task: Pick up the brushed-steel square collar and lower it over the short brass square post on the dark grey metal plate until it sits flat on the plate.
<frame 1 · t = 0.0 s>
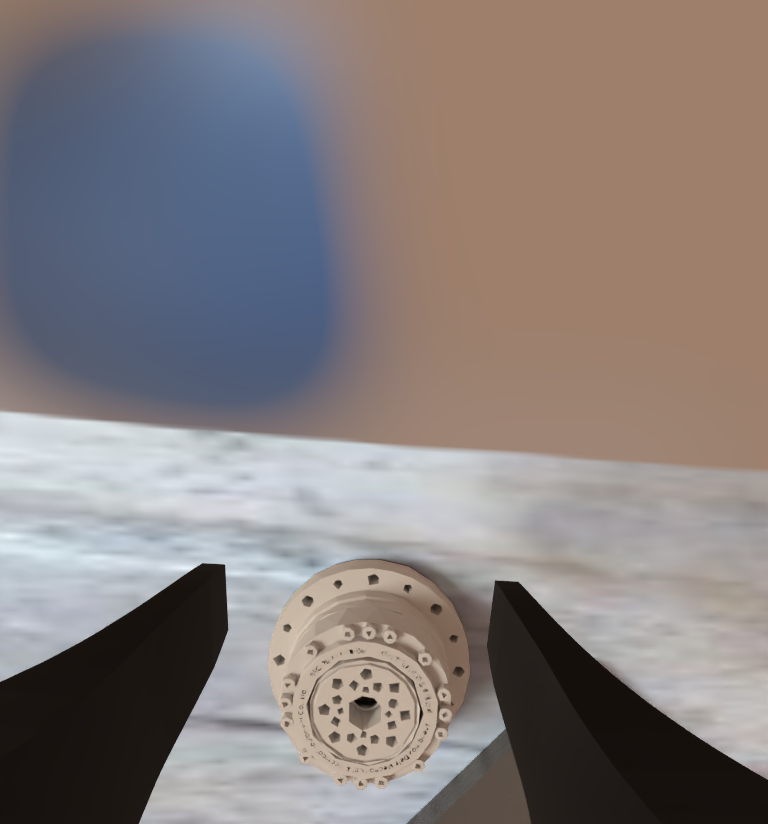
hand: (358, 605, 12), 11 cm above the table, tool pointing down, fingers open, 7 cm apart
mechanical component: (370, 646, 24), on the table
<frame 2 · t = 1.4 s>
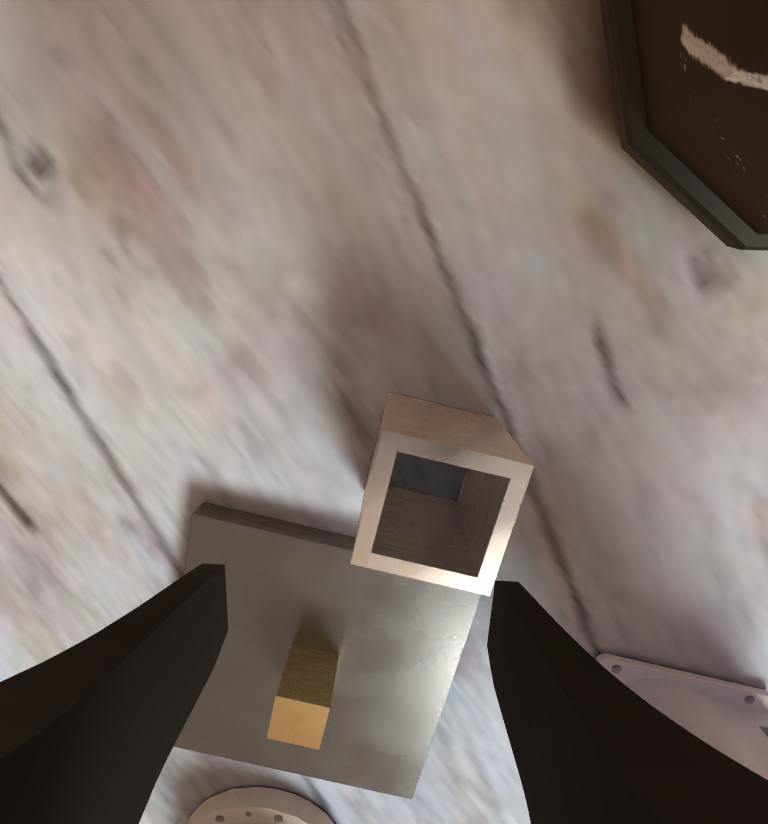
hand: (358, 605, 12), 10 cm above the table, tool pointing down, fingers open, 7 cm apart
post plate: (315, 650, 24), on the table
collar: (428, 455, 21), on the table
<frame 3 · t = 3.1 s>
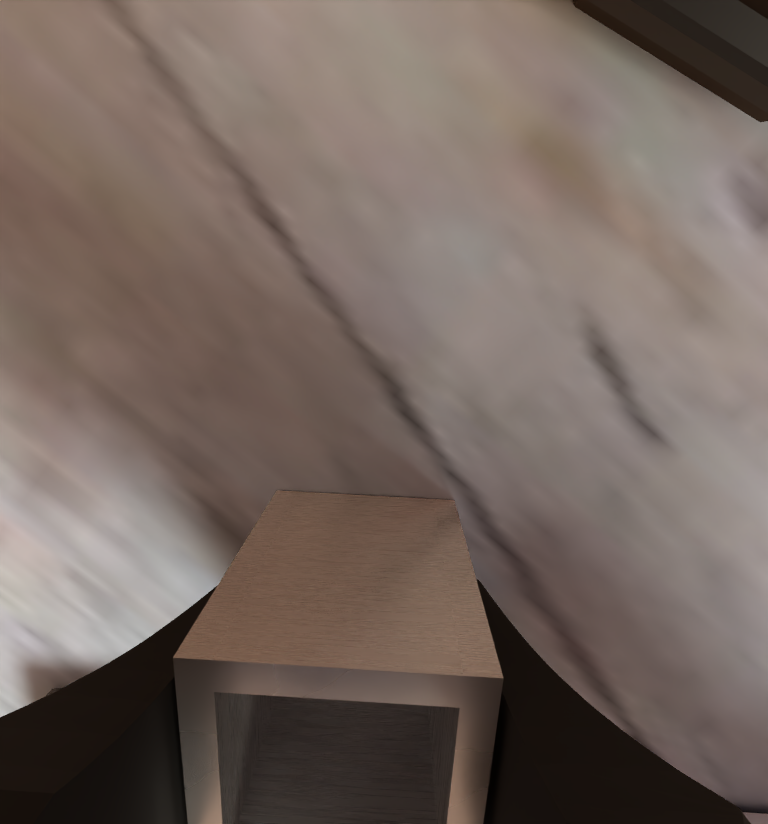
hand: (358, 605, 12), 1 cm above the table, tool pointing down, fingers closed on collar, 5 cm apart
collar: (362, 573, 13), on the table, touching gripper
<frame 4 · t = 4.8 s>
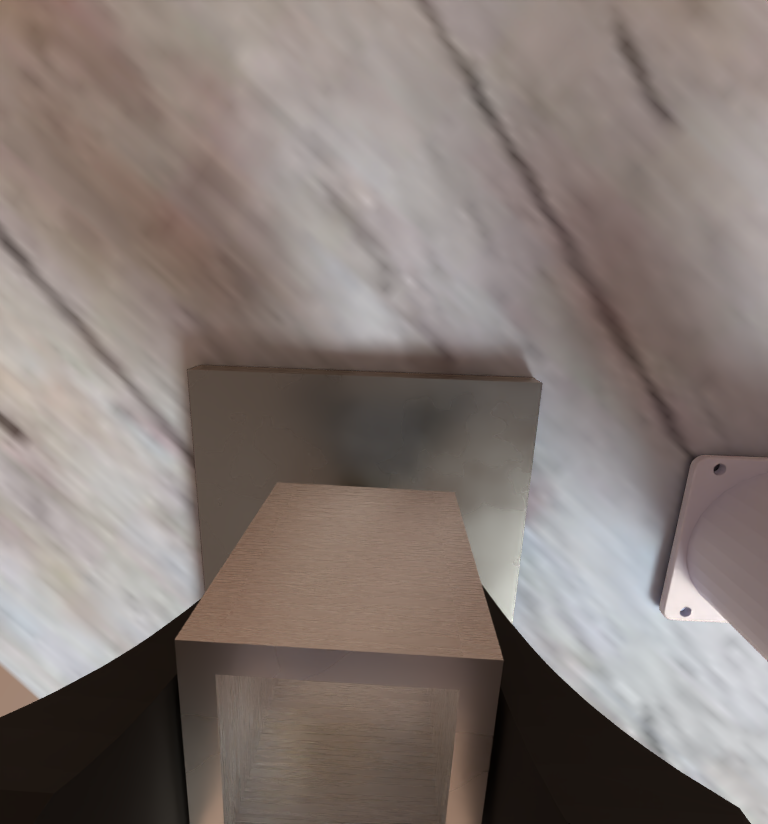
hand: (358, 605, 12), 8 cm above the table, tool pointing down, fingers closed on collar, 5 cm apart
post plate: (362, 521, 20), on the table
collar: (362, 565, 13), point 7 cm above the table, touching gripper
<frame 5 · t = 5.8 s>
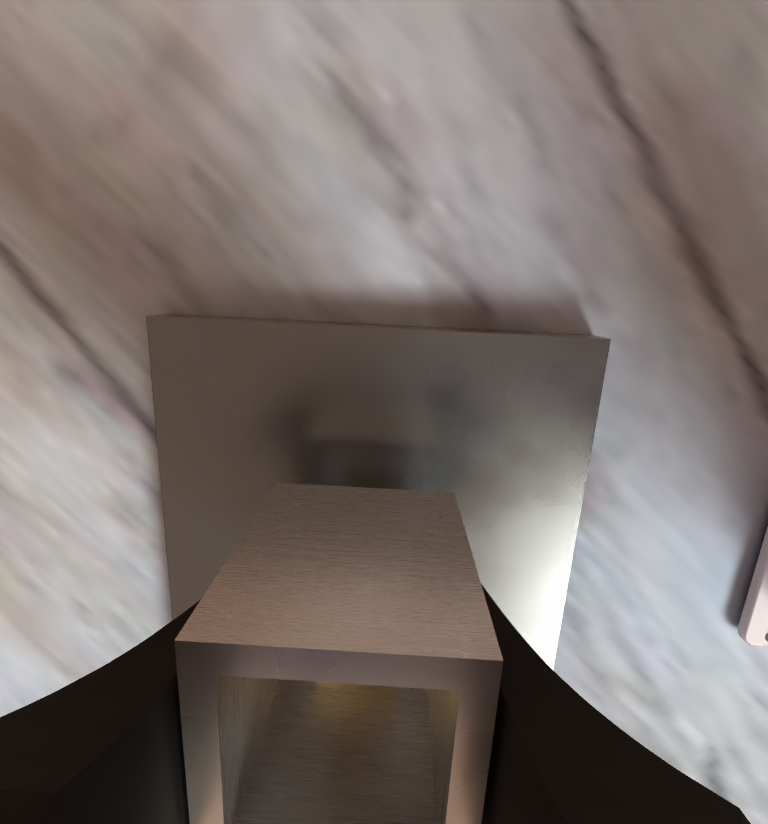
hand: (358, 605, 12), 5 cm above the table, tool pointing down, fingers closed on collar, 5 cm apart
post plate: (369, 518, 16), on the table
collar: (362, 565, 13), point 3 cm above the table, touching gripper
when the fingers open (3 cm above the table, at t = 6.5 s): collar stays where it is, resting on post plate.
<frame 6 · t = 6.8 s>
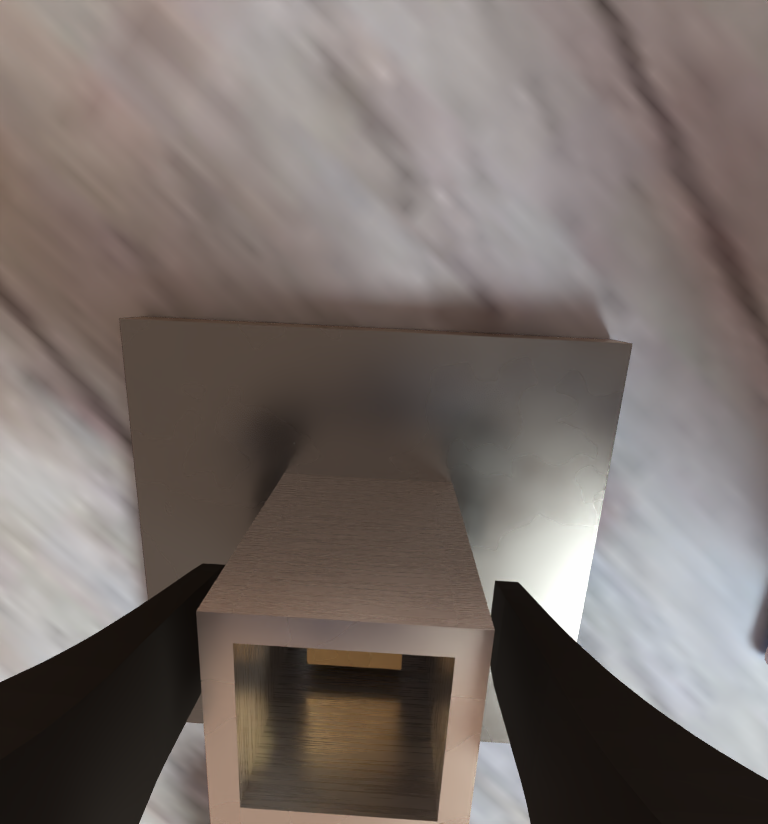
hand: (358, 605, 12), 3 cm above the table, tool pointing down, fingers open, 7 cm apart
post plate: (366, 537, 15), on the table
collar: (364, 552, 14), point 1 cm above the table, touching post plate
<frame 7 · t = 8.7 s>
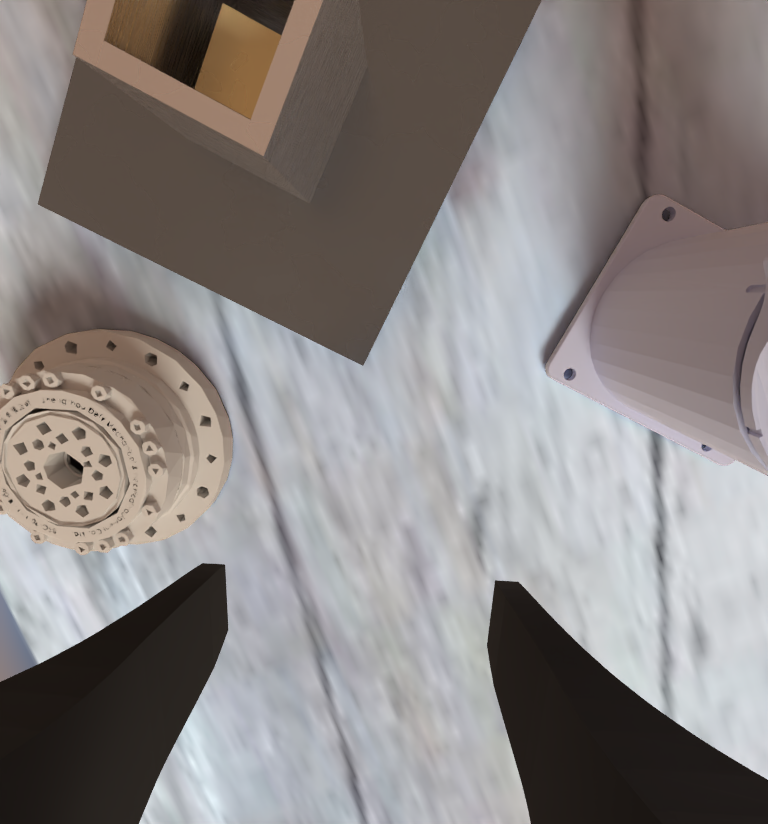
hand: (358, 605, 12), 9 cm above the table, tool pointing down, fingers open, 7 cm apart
mechanical component: (133, 433, 21), on the table
post plate: (281, 120, 17), on the table
collar: (275, 103, 16), point 1 cm above the table, touching post plate
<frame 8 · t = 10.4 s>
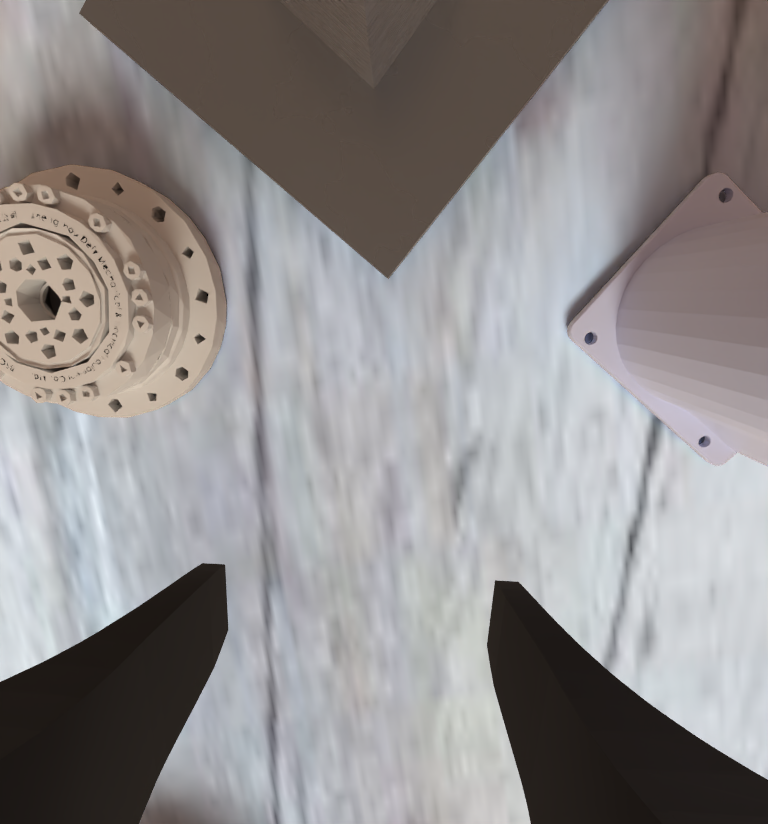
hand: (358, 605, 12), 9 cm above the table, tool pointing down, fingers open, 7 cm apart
mechanical component: (119, 299, 20), on the table
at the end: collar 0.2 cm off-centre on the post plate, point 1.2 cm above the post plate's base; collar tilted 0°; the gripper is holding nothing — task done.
